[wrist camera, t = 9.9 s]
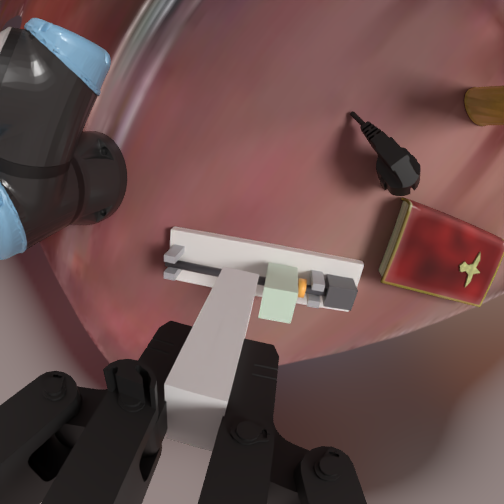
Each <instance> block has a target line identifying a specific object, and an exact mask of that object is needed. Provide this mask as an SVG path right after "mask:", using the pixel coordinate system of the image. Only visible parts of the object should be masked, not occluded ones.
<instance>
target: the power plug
mask: <svg viewBox="0 0 504 504" xmlns="http://www.w3.org/2000/svg"><path fill="white" fill-rule="evenodd" d="M350 115H351V116H352V117H353V118H354V119H355V120H356V121H357V122H358V123H359V124H360V125H361V127H360V128H361V131H362V132H363V134H364V135H365V137H366V138H367V140H368V141H369V143H370V144H371V146H372V147H373V149H374V150H375V151H376V152H377V154H378V158H377V163H376V170H377V174H378V178H379V180H380V184H381V186H382V187H383V188H384V190H386V189H388V191H389V192H390V193H391V194H392V195H395V196H405V195H408V194H410V188H413V190H415V189H416V188H417V186H418V184H419V181H420V164H419V163H418V162H417V159H416V158H415V157H414V156H413V155H411V154H410V153H409V152H408V151H407V149H405V148H402V147H400V146H399V145H398V144H397V143H396V142H395V140H394V139H393V138H392V137H390V138H389V137H388V136H387V135H386V134H385V133H384V132H383V131H381V130H380V129H378V128H377V127H375V126H374V125H373V124H371V123H370V122H366V123H365V122H364V121H363V120H362V119H361V118H360V117H359V116H358V115H357V114H356V113H355V112H351V113H350Z"/></svg>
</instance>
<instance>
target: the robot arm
mask: <svg viewBox="0 0 504 504" xmlns="http://www.w3.org/2000/svg"><path fill="white" fill-rule="evenodd" d="M24 28H25V29H18V28H12V27H8V28H7V29H5V30H4V31H2V32H1V33H0V260H3V259H7V258H9V257H11V256H13V255H15V254H17V253H23V252H24V251H25V250H26V249H28V248H30V247H31V246H32V245H35V244H36V243H38V242H40V241H41V240H43V239H45V238H47V237H48V236H50V235H52V234H54V233H55V232H57V231H59V230H61V229H63V228H64V227H66V226H68V225H90V224H95V223H98V222H100V221H102V220H104V219H106V218H108V217H110V216H111V215H112V214H113V213H114V212H115V211H116V210H117V209H118V207H119V206H120V204H121V202H122V200H123V198H124V195H125V191H126V186H127V170H126V164H125V161H124V158H123V155H122V153H121V151H120V149H119V147H118V146H117V144H116V143H115V142H114V141H113V140H112V139H111V138H110V137H108V136H107V135H105V134H103V133H101V132H97V131H86V132H82V130H83V128H84V126H85V123H86V121H87V118H88V116H89V114H90V111H91V109H92V107H93V105H94V103H95V100H96V98H97V96H99V95H100V89H101V86H102V84H103V81H104V79H105V77H106V75H107V73H108V70H109V68H110V64H111V60H110V56H109V54H108V53H107V51H105V50H104V49H103V48H101V47H100V46H98V45H96V44H94V43H93V42H91V41H89V40H87V39H85V38H83V37H81V36H79V35H77V34H75V33H73V32H71V31H69V30H66V29H64V28H62V27H59V26H57V25H54V24H52V23H49V22H46V21H44V20H42V19H39V18H32V19H30V20H29V22H28V23H26V24H25V26H24ZM258 279H259V274H255V273H250V272H246V271H242V270H237V269H233V268H229V267H223V268H222V270H221V272H220V274H219V276H218V278H217V280H216V282H215V284H214V286H213V288H212V290H211V292H210V294H209V296H208V298H207V300H206V302H205V304H204V305H203V307H202V309H201V311H200V313H199V315H198V317H197V319H196V321H195V323H194V325H193V327H192V326H188V325H185V324H181V323H177V322H174V321H169V322H168V323H166V324H164V325H163V326H161V327H160V328H159V329H158V330H157V332H156V333H155V335H154V337H153V339H152V340H151V341H150V343H149V344H148V347H147V348H146V349H145V351H144V352H143V354H142V355H141V357H140V358H139V360H138V361H137V360H132V359H123V360H117V361H115V362H112V363H110V364H109V365H108V366H107V367H105V368H104V369H103V371H104V375H105V380H106V384H107V388H108V389H106V390H98V389H90V388H83V387H78V386H77V385H76V382H75V381H74V380H73V378H72V377H71V376H69V375H68V374H66V373H64V372H59V371H52V372H46V373H44V374H42V375H40V376H39V377H38V378H36V379H35V380H34V381H32V382H31V383H29V384H28V385H27V386H25V387H24V388H23V389H22V390H20V391H19V392H17V393H16V394H15V395H14V396H12V397H11V398H10V399H8V400H7V401H6V402H4V403H3V404H2V405H0V504H40V503H41V502H42V503H41V504H142V502H143V499H144V496H145V494H146V491H147V489H148V486H149V484H150V481H151V478H152V476H153V473H154V471H155V468H156V466H157V463H158V461H159V458H160V456H161V451H162V441H163V439H164V436H165V434H166V433H167V438H168V439H171V440H174V441H177V442H180V443H184V444H187V445H191V446H195V447H198V448H202V449H205V450H209V451H212V455H211V458H210V462H209V466H208V469H207V473H206V476H205V480H204V483H203V487H202V491H201V495H200V498H199V501H198V504H367V503H366V500H365V497H364V494H363V491H362V488H361V485H360V482H359V480H358V477H357V474H356V471H355V468H354V465H353V463H352V461H351V460H350V458H349V457H348V455H346V454H345V453H344V452H342V451H341V450H339V449H336V448H334V447H325V446H321V447H318V448H314V449H312V450H311V451H309V450H306V449H304V448H302V447H299V446H297V445H294V444H292V443H290V442H288V441H287V440H285V439H284V438H283V437H282V436H281V435H279V433H278V432H277V430H276V428H275V426H274V423H273V412H274V403H275V393H276V383H277V381H276V380H277V372H278V371H277V370H278V362H279V356H278V353H277V351H276V349H275V347H274V345H271V344H266V343H262V342H257V341H252V340H248V339H245V336H246V331H247V327H248V323H249V319H250V314H251V310H252V305H253V301H254V297H255V292H256V288H257V283H258Z"/></svg>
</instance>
